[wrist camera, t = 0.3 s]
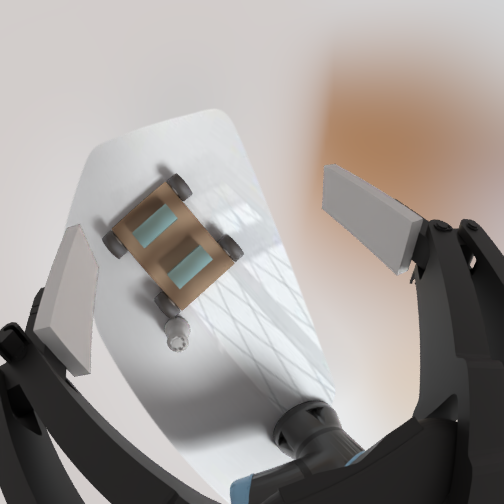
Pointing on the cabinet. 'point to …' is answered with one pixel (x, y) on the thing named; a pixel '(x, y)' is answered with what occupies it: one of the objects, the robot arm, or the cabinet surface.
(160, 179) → the cabinet surface
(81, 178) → the cabinet surface
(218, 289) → the cabinet surface
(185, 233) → the chassis
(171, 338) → the rook chess piece
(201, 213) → the cabinet surface
